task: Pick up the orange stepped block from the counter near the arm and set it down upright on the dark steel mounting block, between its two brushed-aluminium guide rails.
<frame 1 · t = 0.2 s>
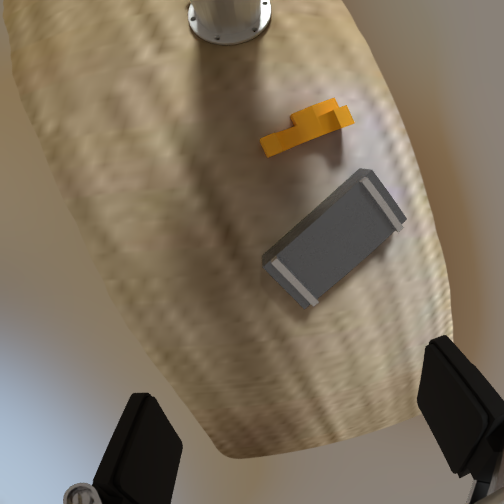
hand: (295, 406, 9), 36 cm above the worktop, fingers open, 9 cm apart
orange stepped block: (298, 128, 40), on the worktop
mounting block: (330, 233, 44), on the worktop
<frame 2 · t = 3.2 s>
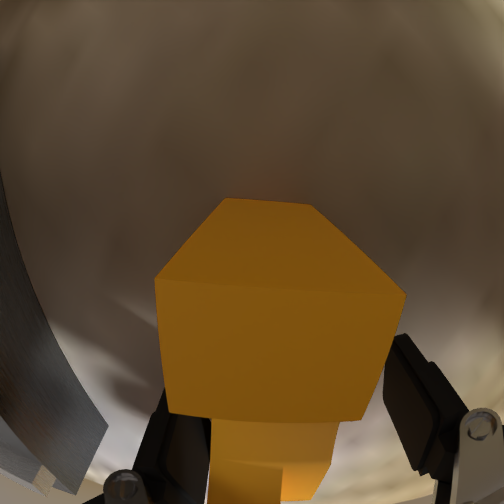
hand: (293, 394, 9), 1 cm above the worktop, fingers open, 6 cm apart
orange stepped block: (276, 360, 11), on the worktop, touching gripper
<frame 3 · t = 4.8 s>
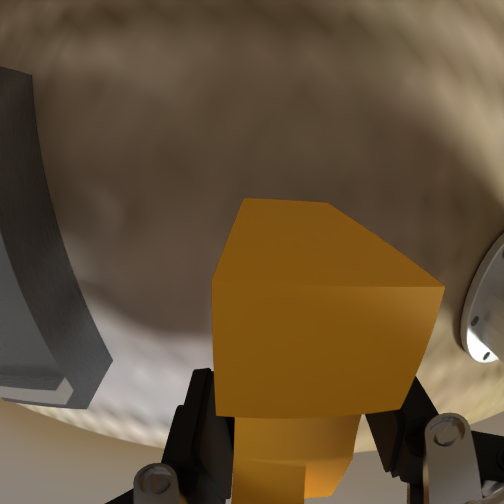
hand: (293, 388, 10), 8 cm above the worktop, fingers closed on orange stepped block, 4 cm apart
orange stepped block: (295, 358, 11), point 6 cm above the worktop, touching gripper
mounting block: (13, 239, 15), on the worktop
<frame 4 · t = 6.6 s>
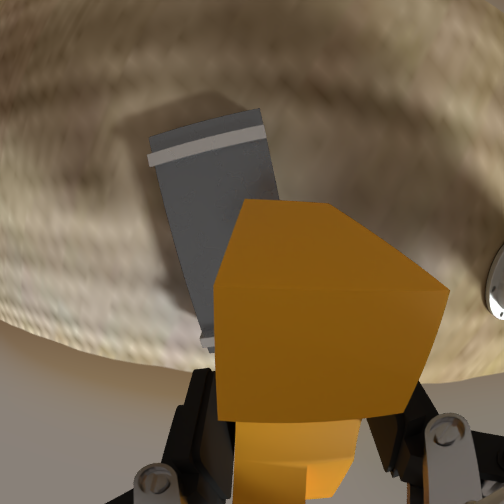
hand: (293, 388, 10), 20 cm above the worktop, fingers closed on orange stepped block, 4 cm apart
orange stepped block: (296, 359, 11), point 19 cm above the worktop, touching gripper
mounting block: (235, 230, 29), on the worktop
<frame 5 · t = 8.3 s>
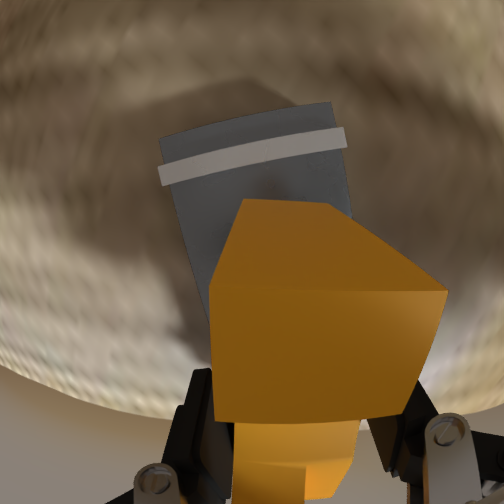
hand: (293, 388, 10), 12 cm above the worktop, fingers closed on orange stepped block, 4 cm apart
orange stepped block: (295, 359, 11), point 11 cm above the worktop, touching gripper
mounting block: (277, 267, 21), on the worktop
when the fingers open (7 cm above the worktop, at t = 9.6 s): orange stepped block moves 1 cm, resting on mounting block.
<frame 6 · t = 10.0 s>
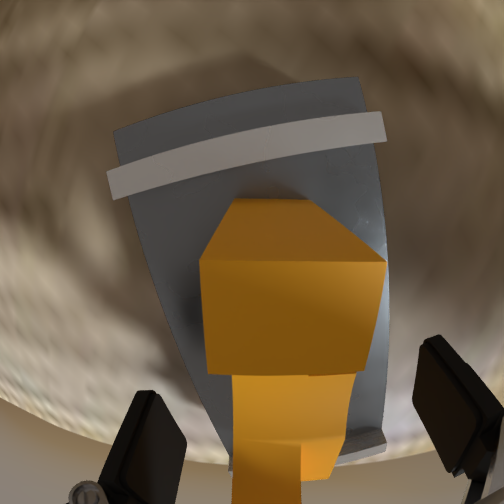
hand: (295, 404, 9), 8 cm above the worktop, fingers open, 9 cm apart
orange stepped block: (288, 344, 12), point 5 cm above the worktop, touching mounting block
mounting block: (279, 297, 17), on the worktop
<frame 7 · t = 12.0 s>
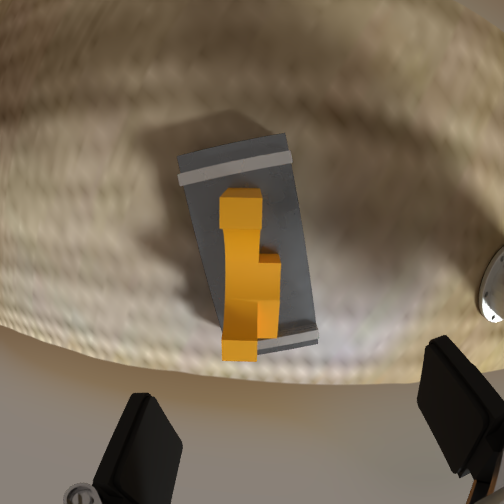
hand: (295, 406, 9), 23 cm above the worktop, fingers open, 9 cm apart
orange stepped block: (253, 257, 26), point 5 cm above the worktop, touching mounting block
mounting block: (254, 243, 31), on the worktop
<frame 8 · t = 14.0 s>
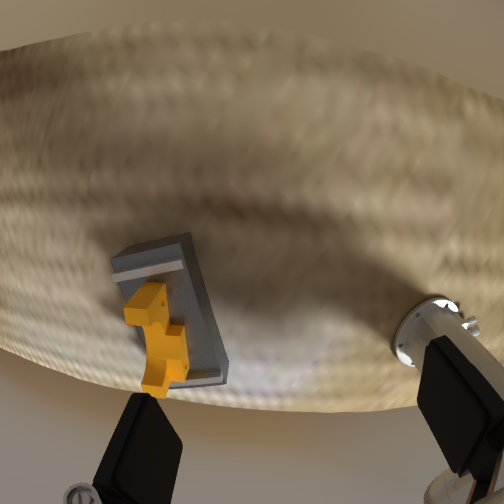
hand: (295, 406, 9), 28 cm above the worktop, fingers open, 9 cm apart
orange stepped block: (167, 326, 35), point 5 cm above the worktop, touching mounting block
mounting block: (179, 309, 39), on the worktop
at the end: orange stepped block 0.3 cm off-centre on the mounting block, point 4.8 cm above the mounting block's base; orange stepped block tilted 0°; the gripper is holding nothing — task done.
